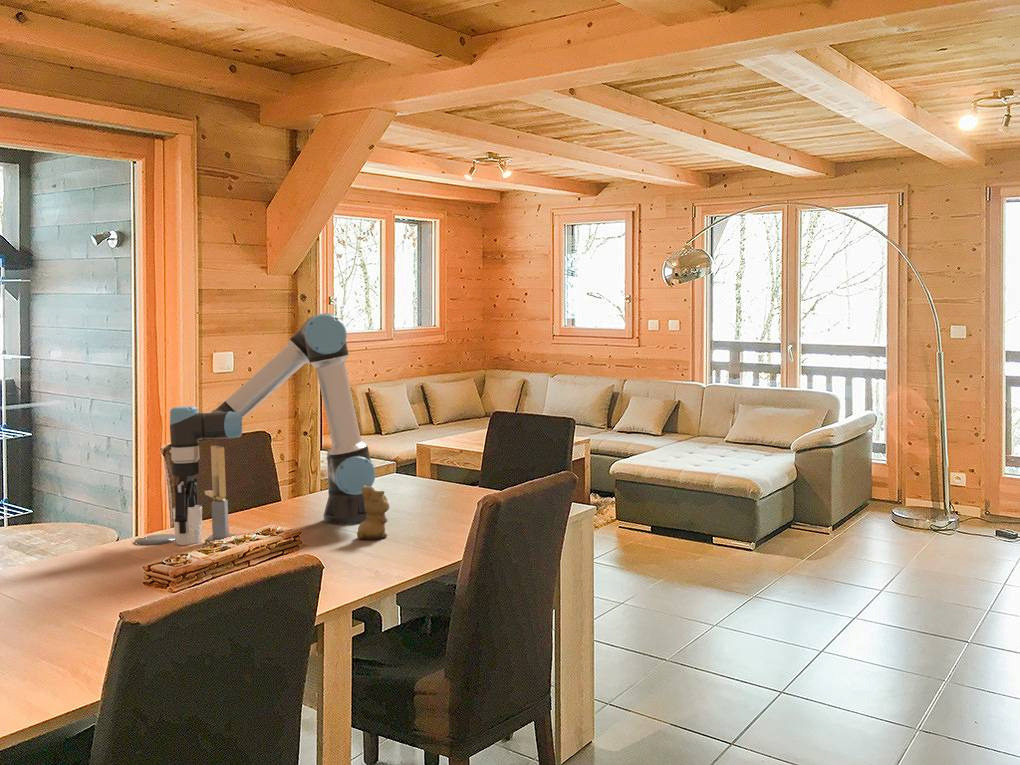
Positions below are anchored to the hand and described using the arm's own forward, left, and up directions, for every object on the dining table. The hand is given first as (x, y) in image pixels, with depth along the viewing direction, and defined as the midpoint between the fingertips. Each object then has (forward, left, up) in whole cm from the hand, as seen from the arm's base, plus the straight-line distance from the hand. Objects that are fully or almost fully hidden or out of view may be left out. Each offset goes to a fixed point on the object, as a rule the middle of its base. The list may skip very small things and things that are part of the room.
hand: (188, 541), depth 260 cm
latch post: (-9, 0, 0) cm, 9 cm away
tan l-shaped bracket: (-7, -4, +11) cm, 14 cm away
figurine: (-53, +3, -1) cm, 53 cm away
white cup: (0, 0, -1) cm, 1 cm away
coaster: (+10, -4, 0) cm, 11 cm away
